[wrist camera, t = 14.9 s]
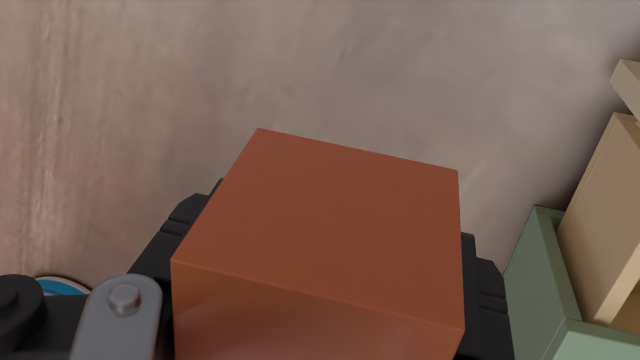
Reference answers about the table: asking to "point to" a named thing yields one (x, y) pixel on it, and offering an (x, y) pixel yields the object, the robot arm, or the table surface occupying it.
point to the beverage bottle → (60, 286)
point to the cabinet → (553, 302)
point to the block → (321, 258)
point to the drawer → (608, 218)
